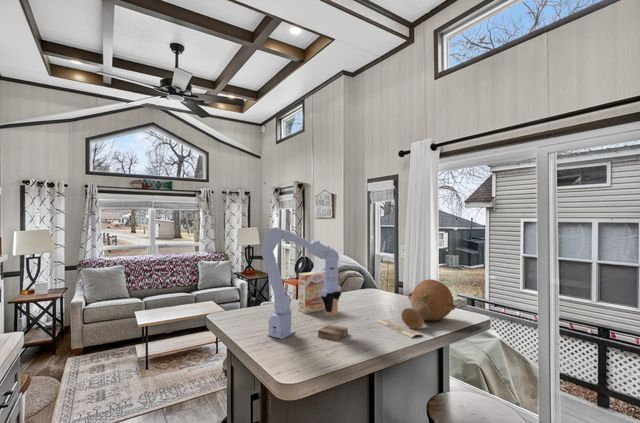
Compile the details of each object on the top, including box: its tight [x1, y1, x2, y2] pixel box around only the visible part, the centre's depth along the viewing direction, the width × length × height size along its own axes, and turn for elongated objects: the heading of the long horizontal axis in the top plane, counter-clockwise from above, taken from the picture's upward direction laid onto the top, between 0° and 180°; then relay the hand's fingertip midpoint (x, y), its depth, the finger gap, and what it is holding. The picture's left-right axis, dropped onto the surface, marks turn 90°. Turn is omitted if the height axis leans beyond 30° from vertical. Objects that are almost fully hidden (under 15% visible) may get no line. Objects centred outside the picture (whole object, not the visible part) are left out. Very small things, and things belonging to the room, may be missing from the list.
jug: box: [400, 278, 456, 330], centre depth 153 cm, size 20×19×30 cm
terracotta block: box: [324, 299, 339, 317], centre depth 136 cm, size 4×4×6 cm
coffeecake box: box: [297, 270, 325, 314], centre depth 173 cm, size 15×7×20 cm, turn 126°
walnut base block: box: [317, 324, 349, 342], centre depth 134 cm, size 9×9×3 cm
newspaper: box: [376, 318, 424, 339], centre depth 143 cm, size 24×7×2 cm, turn 26°
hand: (331, 310), depth 136 cm, fingers closed on terracotta block, 4 cm apart
